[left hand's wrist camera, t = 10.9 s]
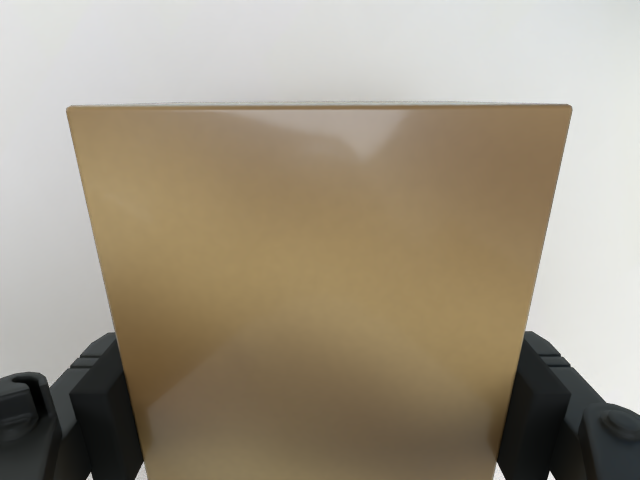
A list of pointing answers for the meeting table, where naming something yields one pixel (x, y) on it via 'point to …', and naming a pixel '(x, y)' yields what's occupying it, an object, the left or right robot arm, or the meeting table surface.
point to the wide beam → (319, 279)
